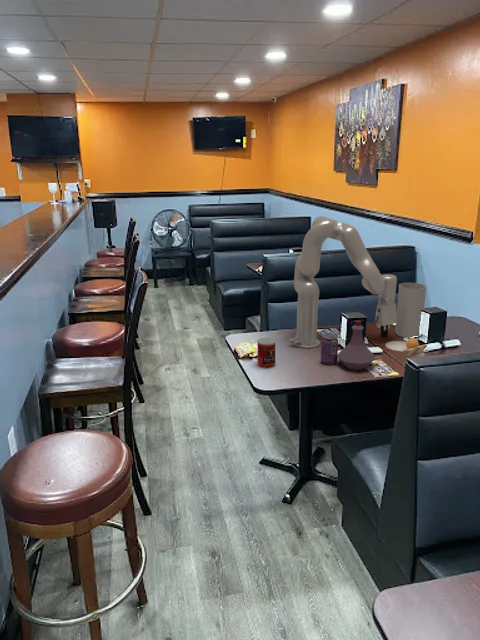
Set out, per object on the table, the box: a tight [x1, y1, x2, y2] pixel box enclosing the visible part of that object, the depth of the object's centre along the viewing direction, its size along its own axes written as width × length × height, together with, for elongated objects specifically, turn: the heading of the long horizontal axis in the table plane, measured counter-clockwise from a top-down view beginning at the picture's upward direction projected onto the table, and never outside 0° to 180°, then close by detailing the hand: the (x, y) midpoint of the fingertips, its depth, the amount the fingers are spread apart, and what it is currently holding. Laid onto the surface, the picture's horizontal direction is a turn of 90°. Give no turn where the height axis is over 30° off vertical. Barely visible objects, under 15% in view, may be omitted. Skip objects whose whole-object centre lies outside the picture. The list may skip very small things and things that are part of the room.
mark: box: [385, 340, 408, 353], centre depth 234 cm, size 13×13×1 cm
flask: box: [337, 319, 376, 371], centre depth 210 cm, size 16×16×20 cm
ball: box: [405, 338, 420, 349], centre depth 229 cm, size 6×6×6 cm
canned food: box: [257, 337, 276, 369], centre depth 214 cm, size 8×8×11 cm
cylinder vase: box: [394, 282, 427, 339], centre depth 245 cm, size 12×12×25 cm
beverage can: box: [320, 333, 339, 365], centre depth 215 cm, size 7×7×12 cm
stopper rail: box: [402, 343, 428, 358], centre depth 225 cm, size 14×2×2 cm, turn 121°
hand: (384, 337), depth 241 cm, fingers closed
